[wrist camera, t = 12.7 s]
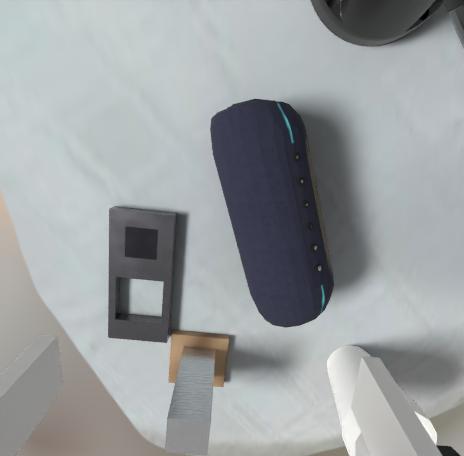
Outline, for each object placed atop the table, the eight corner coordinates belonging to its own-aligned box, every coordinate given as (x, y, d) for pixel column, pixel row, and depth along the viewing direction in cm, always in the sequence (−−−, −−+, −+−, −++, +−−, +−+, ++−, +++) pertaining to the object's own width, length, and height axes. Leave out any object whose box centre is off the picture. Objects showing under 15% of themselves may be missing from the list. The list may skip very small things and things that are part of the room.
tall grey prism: (215, 348, 44) (210, 421, 33) (212, 375, 45) (206, 455, 34) (183, 346, 44) (167, 418, 32) (181, 373, 45) (165, 452, 34)
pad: (229, 335, 45) (229, 339, 44) (223, 381, 47) (223, 386, 46) (172, 330, 44) (171, 334, 43) (169, 377, 46) (168, 382, 45)
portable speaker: (325, 285, 43) (353, 325, 33) (254, 302, 44) (261, 346, 34) (287, 95, 37) (308, 77, 27) (205, 117, 37) (197, 108, 28)
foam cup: (305, 353, 46) (334, 433, 33) (363, 324, 45) (416, 395, 32) (334, 399, 48) (371, 490, 35) (390, 373, 47) (449, 457, 34)
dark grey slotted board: (176, 213, 40) (174, 215, 38) (169, 335, 45) (166, 343, 43) (114, 206, 40) (109, 209, 38) (112, 330, 44) (108, 337, 43)
